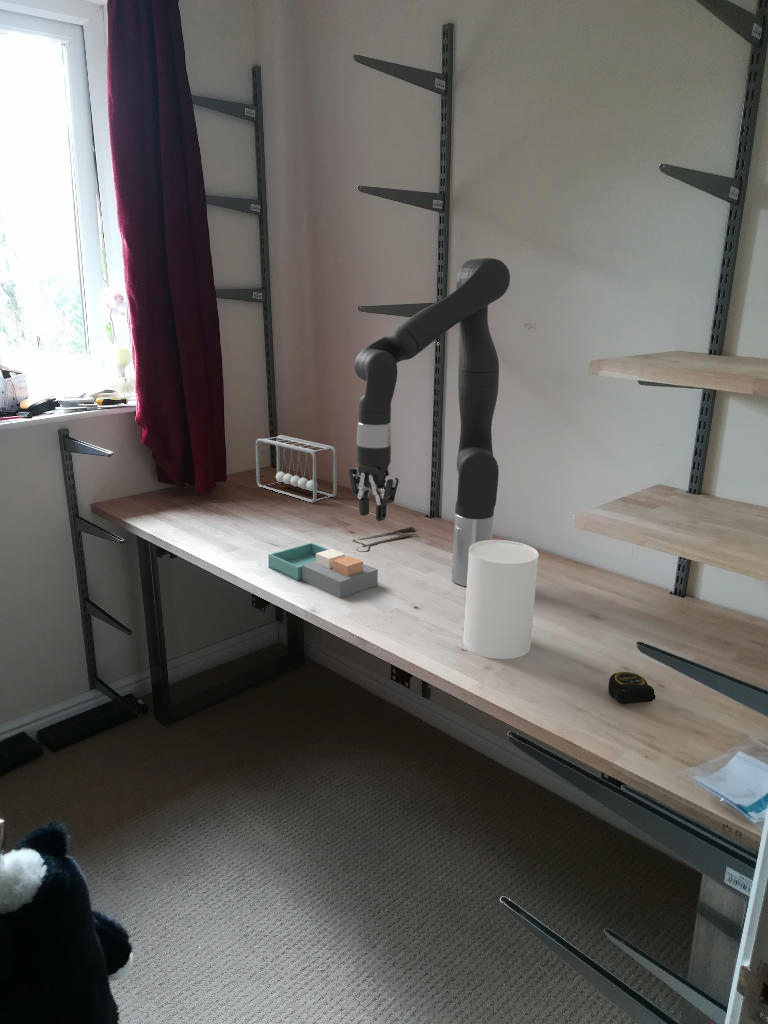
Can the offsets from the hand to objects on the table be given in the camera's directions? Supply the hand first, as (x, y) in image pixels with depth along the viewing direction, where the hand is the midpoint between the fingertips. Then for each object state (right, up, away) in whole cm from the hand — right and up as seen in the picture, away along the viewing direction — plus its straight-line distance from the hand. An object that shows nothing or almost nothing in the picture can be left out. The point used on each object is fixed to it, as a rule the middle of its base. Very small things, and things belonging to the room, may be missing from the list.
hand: (372, 517), depth 167 cm
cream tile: (-10, -11, +14) cm, 21 cm away
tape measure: (+46, -33, -35) cm, 67 cm away
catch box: (-18, -13, +22) cm, 31 cm away
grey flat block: (-8, -16, +13) cm, 22 cm away
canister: (+26, -26, -15) cm, 40 cm away
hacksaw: (+4, -7, +44) cm, 45 cm away
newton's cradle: (-28, +8, +89) cm, 94 cm away
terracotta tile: (-6, -13, +10) cm, 17 cm away
